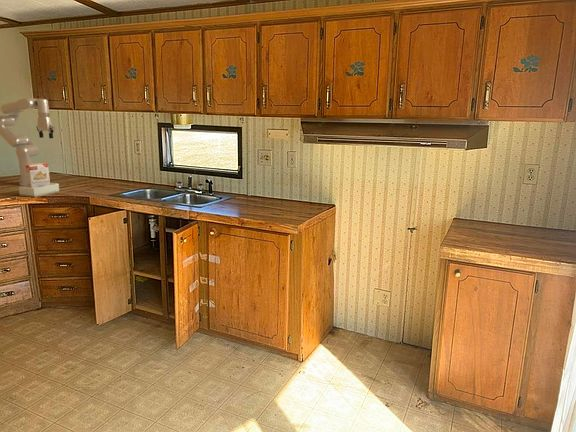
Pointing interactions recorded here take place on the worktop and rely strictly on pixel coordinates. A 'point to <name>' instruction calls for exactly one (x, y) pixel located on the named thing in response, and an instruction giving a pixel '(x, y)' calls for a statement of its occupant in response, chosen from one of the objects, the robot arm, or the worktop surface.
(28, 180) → the cracker box
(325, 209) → the worktop surface
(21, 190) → the bin
